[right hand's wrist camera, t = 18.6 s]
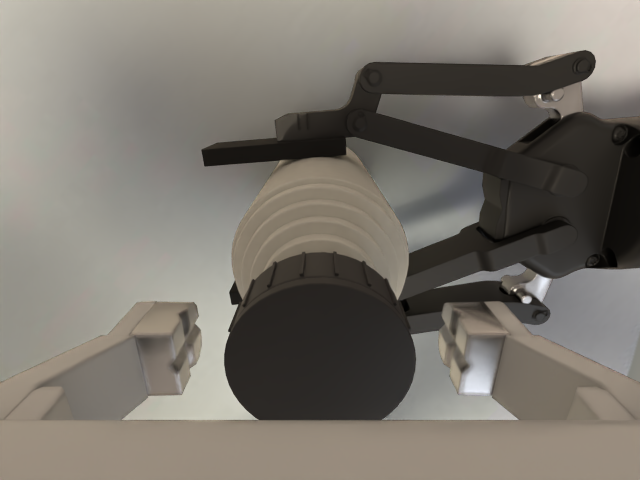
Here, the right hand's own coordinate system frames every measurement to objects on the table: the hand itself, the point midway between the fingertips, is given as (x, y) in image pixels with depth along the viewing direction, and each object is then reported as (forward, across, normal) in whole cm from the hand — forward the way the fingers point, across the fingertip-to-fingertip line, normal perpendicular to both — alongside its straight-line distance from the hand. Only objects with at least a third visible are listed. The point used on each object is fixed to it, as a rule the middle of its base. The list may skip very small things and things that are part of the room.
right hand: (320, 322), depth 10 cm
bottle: (+16, 0, 0) cm, 16 cm away
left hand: (+9, -5, 0) cm, 11 cm away
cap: (-2, 0, 0) cm, 2 cm away
